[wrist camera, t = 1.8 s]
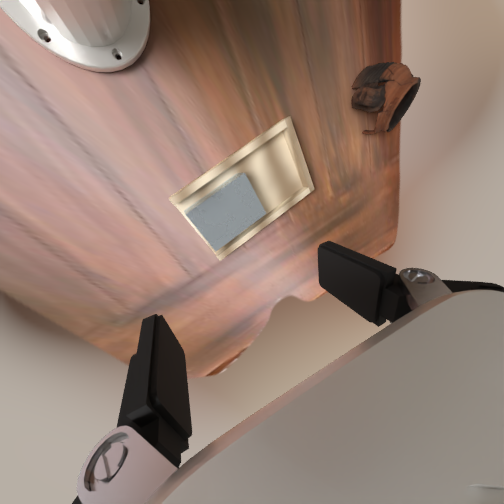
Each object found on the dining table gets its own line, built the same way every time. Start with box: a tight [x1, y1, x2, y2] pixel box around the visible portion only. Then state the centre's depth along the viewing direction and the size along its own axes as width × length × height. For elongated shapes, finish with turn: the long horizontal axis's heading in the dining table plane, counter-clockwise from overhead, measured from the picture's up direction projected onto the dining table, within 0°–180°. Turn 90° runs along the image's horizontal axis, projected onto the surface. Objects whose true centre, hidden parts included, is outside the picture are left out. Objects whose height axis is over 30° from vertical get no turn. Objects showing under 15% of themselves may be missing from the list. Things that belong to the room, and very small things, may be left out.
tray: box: [169, 116, 314, 261], centre depth 29 cm, size 21×12×2 cm, turn 123°
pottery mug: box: [352, 62, 421, 134], centre depth 31 cm, size 12×10×8 cm
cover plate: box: [184, 173, 266, 251], centre depth 28 cm, size 10×7×3 cm
